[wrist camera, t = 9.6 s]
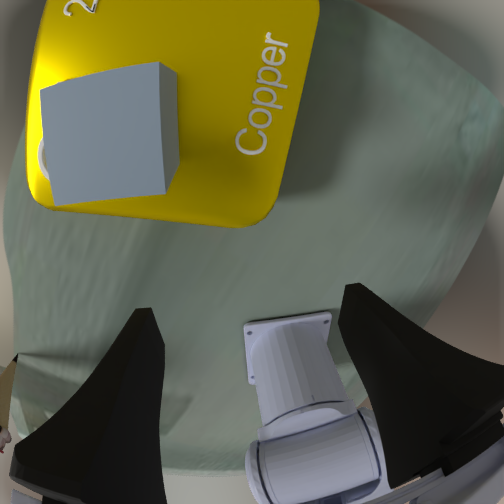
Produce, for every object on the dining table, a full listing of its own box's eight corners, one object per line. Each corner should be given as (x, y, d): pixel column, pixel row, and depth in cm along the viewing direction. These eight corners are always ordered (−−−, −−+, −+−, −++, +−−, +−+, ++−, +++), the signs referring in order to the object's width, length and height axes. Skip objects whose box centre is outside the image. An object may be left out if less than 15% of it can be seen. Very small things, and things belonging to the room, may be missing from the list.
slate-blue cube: (179, 163, 13) (165, 194, 9) (95, 172, 13) (54, 206, 9) (176, 72, 11) (159, 61, 7) (87, 87, 10) (39, 89, 7)
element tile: (258, 206, 20) (271, 239, 16) (56, 187, 17) (23, 214, 13) (304, 2, 13) (331, -21, 9) (82, -12, 10) (51, -32, 6)
